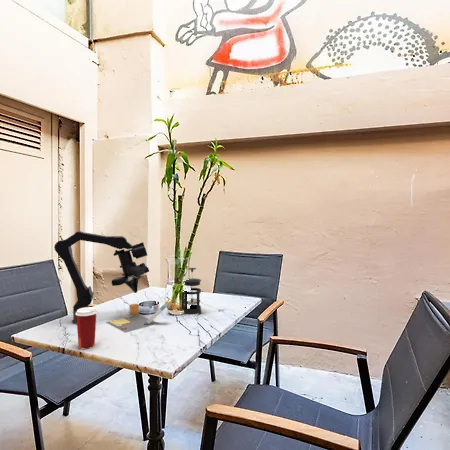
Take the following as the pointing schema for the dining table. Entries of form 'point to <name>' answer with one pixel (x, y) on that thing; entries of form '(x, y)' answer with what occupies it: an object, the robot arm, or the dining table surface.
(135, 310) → the cap
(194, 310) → the french press
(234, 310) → the dining table surface
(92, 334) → the paper cup
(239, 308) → the dining table surface
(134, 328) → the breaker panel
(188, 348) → the dining table surface
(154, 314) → the lever
